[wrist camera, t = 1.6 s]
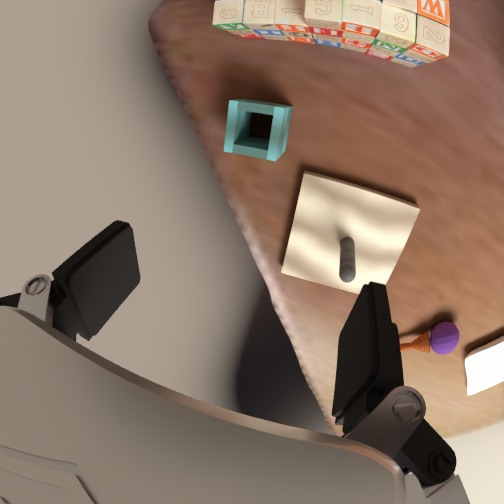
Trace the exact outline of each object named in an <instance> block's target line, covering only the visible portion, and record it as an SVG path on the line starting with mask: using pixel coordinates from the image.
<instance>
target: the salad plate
mask: <svg viewBox="0 0 504 504" xmlns="http://www.w3.org/2000/svg"><path fill="white" fill-rule="evenodd" d="M465 368H466V374H467V394H468V395H472V394H475V393H477V392H480V391H482V390H485V389H487V388H489V387H492V386H494V385H496V384H498V383H500V382H502V381H504V336H502V337H500V338H498V339H496V340H494V341H492V342H490V343H488V344H486V345H484V346H481V347H479V348H477V349H475V350H473V351H472V352H470V353H469V354H468V355H467V356H466V358H465Z"/></svg>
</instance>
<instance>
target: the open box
mask: <svg viewBox="0 0 504 504" xmlns="http://www.w3.org/2000/svg"><path fill="white" fill-rule="evenodd" d="M292 109H293V106H289V105H284V104H278V103H272V102H265V101H259V100H251V99H238V100H229V107H228V116H227V126H226V135H225V145H224V151H226V152H231V153H237V154H242V155H248V156H253V157H258V158H263V159H268V160H272V161H276V160H277V159H278V158H279V157H280V156H281V155H282V154H283V153H284V152H285V150H286V144H287V138H288V133H289V127H290V121H291V115H292ZM252 112H256V113H262V114H268V115H273V121H272V128H271V134H270V140H268V139H263V138H257V137H252V136H249V133H250V126H251V118H252Z"/></svg>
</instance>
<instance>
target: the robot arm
mask: <svg viewBox="0 0 504 504" xmlns="http://www.w3.org/2000/svg"><path fill="white" fill-rule="evenodd" d="M52 275H53V277H54V280H53V281H51V279H50V277H49V276H47V275H44V274H40V275H36V276H34V277H32V278H30V279H29V280H28V281H27V282H26V283H25V284H24V287H23V289H22V292H21V293H17V294H13V295H9V296H5V297H1V298H0V504H470V502H469V500H468V497H467V494H466V492H465V489H464V487H463V484H462V482H461V480H460V477H459V475H455V474H454V471H455V467H456V456H455V453H454V451H453V450H452V448H451V447H450V446H449V445H448V444H447V443H446V442H445V441H444V440H443V439H442V437H441V436H440V435H439V434H438V433H437V432H436V431H435V430H434V429H433V428H432V427H431V426H430V425H429V423H428V422H427V421H426V420H425V419H424V416H425V412H426V405H425V401H424V399H423V397H422V395H421V394H420V393H419V392H418V391H417V390H415V389H414V388H412V387H409V386H404V379H403V368H402V358H401V350H400V342H399V335H398V328H397V325H396V324H395V323H392V320H391V314H390V307H389V301H388V296H387V290H386V286H385V284H381V283H377V282H373V281H370V282H369V284H364V285H363V287H362V289H361V291H360V293H359V295H358V298H357V300H356V302H355V304H354V306H353V308H352V310H351V312H350V315H349V317H348V319H347V321H346V323H345V325H344V327H343V329H342V331H341V333H340V336H339V343H338V357H337V370H336V381H335V391H334V400H333V408H332V416H334V417H336V420H335V424H336V425H343V430H342V431H343V433H344V434H343V435H342V436H341V437H338V436H334V435H329V434H324V433H319V432H315V431H310V430H305V429H300V428H295V427H291V426H286V425H282V424H278V423H274V422H270V421H266V420H262V419H258V418H254V417H251V416H247V415H243V414H240V413H237V412H233V411H230V410H227V409H224V408H220V407H217V406H214V405H211V404H208V403H205V402H203V401H200V400H197V399H194V398H192V397H189V396H186V395H184V394H181V393H179V392H176V391H174V390H171V389H169V388H166V387H164V386H161V385H159V384H157V383H155V382H152V381H150V380H148V379H146V378H143V377H141V376H139V375H137V374H135V373H133V372H131V371H129V370H127V369H125V368H122V367H121V366H119V365H117V364H115V363H113V362H111V361H109V360H107V359H105V358H104V357H102V356H100V355H98V354H96V353H94V352H93V351H91V350H89V349H87V348H86V347H84V346H82V345H81V344H79V343H77V342H76V335H77V333H79V335H80V336H82V337H83V338H85V339H86V340H88V341H89V340H90V339H91V338H92V336H94V335H96V334H97V333H98V332H99V330H100V329H101V328H102V327H103V326H104V324H105V323H106V322H107V321H108V320H109V318H110V317H111V316H112V315H113V314H114V312H115V311H116V310H117V309H118V307H119V306H120V305H121V304H122V303H123V302H124V300H125V299H126V298H127V297H128V296H129V294H130V293H131V292H132V291H133V290H134V289H135V288H136V286H137V285H138V284H139V282H140V272H139V267H138V261H137V255H136V249H135V242H134V235H133V229H132V227H131V226H130V224H129V223H127V222H123V221H119V220H117V221H114V222H113V223H112V224H110V225H109V226H108V227H106V228H105V229H104V230H103V231H101V232H100V233H99V234H97V235H96V236H95V237H94V238H92V239H91V240H90V241H89V242H88V243H86V244H85V245H84V246H83V247H81V248H80V249H79V250H78V251H76V252H75V253H74V254H73V255H72V256H70V257H69V258H68V259H67V260H66V261H65V262H63V263H62V264H61V265H60V266H59V267H58V268H57V269H55V271H53V272H52Z"/></svg>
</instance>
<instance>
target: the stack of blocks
mask: <svg viewBox="0 0 504 504" xmlns="http://www.w3.org/2000/svg"><path fill="white" fill-rule="evenodd" d="M449 24H450V15H449V1H448V0H215V5H214V15H213V25H214V26H216V27H218V28H220V29H223V30H227V31H229V32H231V33H233V34H236V35H237V36H239V37H242V38H266V39H275V40H290V41H297V42H305V43H313V44H314V43H317V44H323V45H329V46H335V47H341V48H346V49H350V50H355V51H359V52H364V53H366V54H369V55H373V56H377V57H380V58H384V59H387V60H390V61H393V62H396V63H399V64H402V65H405V66H408V67H411V68H413V67H415V66H418V65H421V64H424V63H429V62H433V61H436V60H437V59H440V58H444V57H447V56H448V54H449V36H450V28H449Z"/></svg>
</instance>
